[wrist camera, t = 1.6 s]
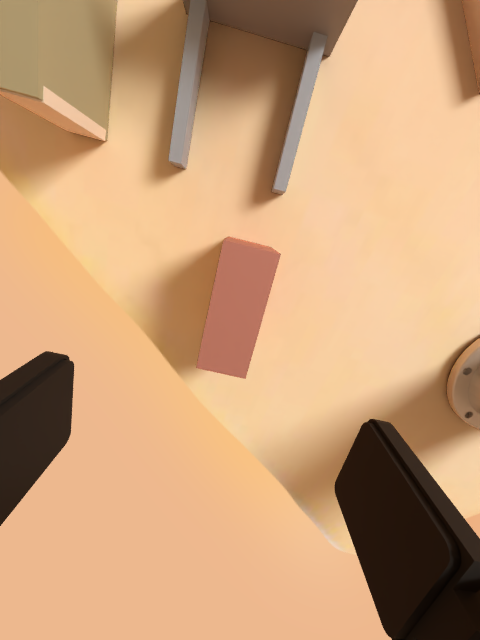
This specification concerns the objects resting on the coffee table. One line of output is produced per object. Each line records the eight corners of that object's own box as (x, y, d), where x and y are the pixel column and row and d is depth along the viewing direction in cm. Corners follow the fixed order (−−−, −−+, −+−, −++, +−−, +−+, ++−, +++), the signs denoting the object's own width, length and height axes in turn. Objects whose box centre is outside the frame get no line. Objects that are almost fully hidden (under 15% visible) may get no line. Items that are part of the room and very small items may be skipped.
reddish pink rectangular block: (270, 247, 25) (280, 254, 19) (244, 343, 28) (245, 378, 22) (228, 236, 25) (222, 239, 18) (206, 334, 28) (195, 367, 22)
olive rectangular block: (119, -17, 19) (39, -173, 12) (107, 142, 23) (38, 99, 15) (75, -30, 19) (-35, -198, 12) (69, 132, 22) (-19, 84, 15)
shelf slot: (334, 36, 20) (379, -56, 14) (290, 196, 24) (308, 185, 17) (189, -9, 20) (161, -130, 13) (165, 163, 23) (134, 137, 16)
